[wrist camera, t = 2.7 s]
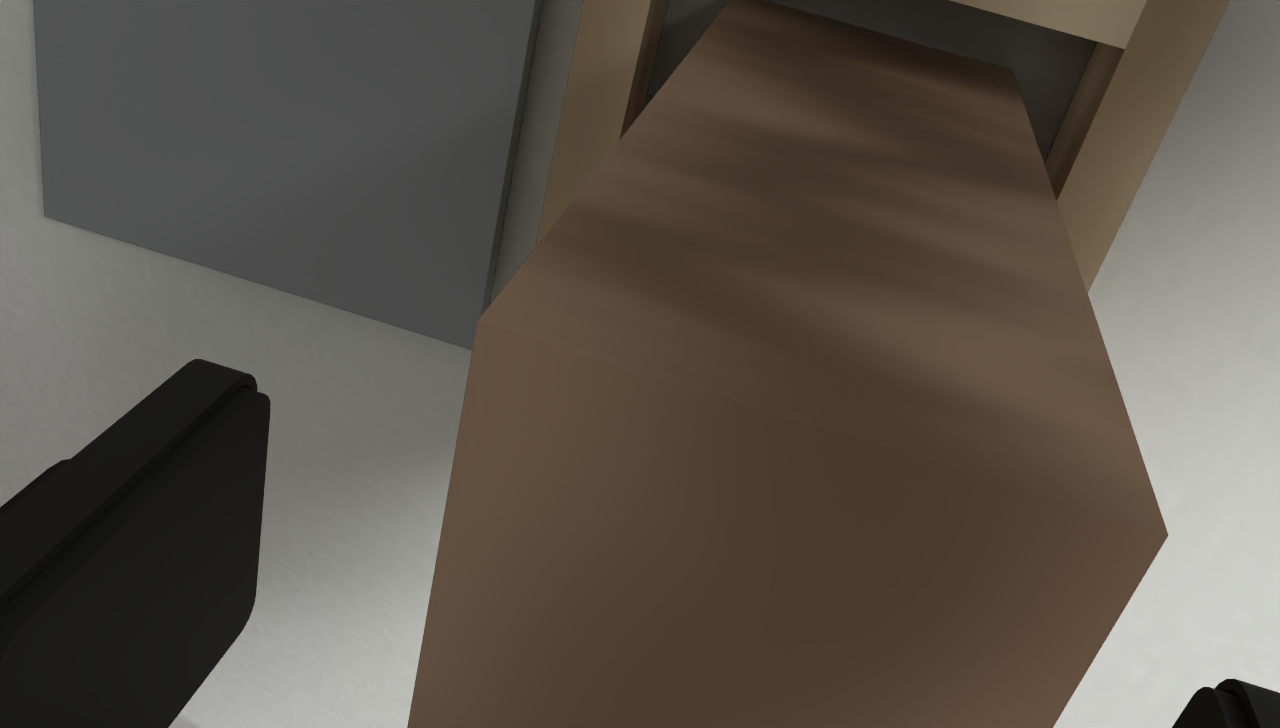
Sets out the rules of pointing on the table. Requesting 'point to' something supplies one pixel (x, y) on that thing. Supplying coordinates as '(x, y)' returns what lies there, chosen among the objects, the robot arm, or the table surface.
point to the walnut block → (792, 417)
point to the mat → (295, 141)
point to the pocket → (1072, 3)
